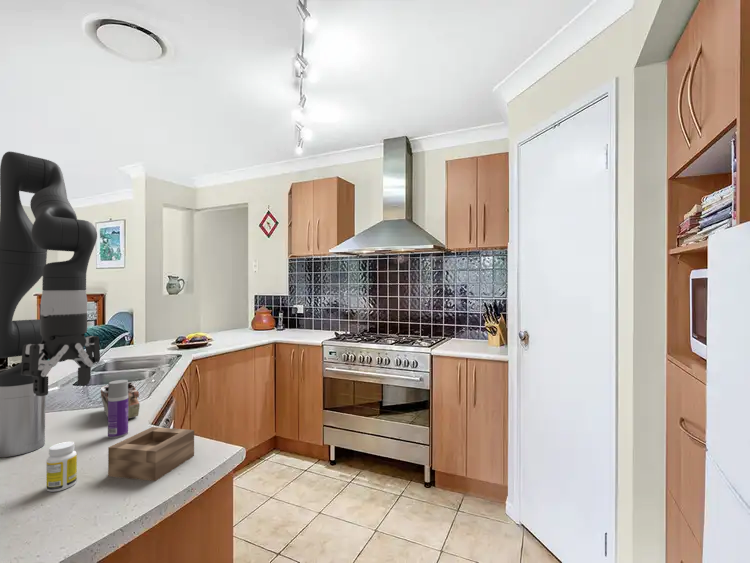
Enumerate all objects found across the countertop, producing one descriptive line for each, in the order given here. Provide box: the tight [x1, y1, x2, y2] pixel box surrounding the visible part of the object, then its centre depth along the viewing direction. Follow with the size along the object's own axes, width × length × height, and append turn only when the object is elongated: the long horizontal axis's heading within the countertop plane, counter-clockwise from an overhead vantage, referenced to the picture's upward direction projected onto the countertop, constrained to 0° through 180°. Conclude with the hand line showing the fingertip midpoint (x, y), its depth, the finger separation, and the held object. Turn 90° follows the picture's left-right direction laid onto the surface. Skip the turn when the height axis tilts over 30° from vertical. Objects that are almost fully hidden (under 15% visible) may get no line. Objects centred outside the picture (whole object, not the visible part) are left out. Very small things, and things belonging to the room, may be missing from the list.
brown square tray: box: [107, 426, 195, 482], centre depth 84 cm, size 12×12×6 cm
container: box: [107, 379, 129, 440], centre depth 102 cm, size 5×5×15 cm
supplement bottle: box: [46, 441, 78, 493], centre depth 75 cm, size 5×5×8 cm
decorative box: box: [100, 381, 141, 420], centre depth 118 cm, size 13×20×10 cm, turn 37°
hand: (63, 389), depth 76 cm, fingers open, 8 cm apart
